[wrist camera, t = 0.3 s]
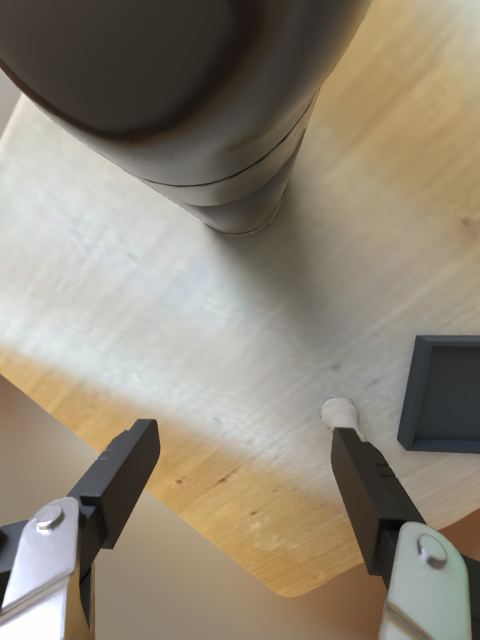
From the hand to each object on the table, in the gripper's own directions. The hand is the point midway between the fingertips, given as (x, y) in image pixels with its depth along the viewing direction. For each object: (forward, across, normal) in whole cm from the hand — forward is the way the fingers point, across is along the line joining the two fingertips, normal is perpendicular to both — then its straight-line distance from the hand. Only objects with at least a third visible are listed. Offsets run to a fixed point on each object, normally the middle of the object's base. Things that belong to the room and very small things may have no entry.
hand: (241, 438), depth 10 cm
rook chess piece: (+18, -11, +11) cm, 23 cm away
